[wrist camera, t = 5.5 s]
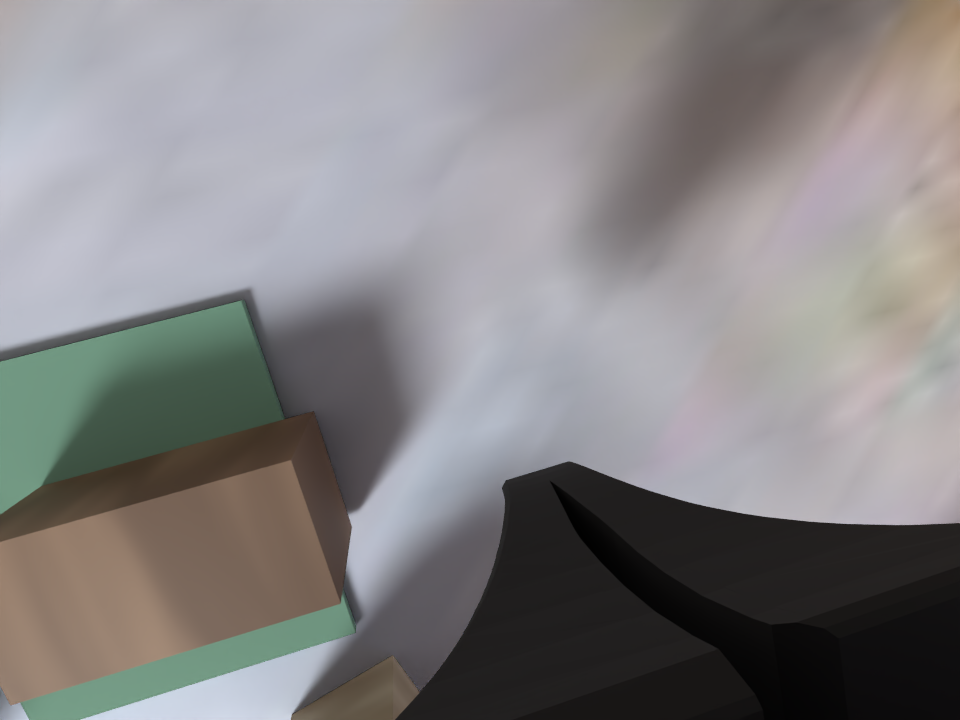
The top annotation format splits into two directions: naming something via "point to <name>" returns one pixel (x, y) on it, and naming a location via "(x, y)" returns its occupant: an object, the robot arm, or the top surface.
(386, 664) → the maple block
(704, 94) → the top surface
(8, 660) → the walnut block
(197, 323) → the mat
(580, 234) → the top surface
